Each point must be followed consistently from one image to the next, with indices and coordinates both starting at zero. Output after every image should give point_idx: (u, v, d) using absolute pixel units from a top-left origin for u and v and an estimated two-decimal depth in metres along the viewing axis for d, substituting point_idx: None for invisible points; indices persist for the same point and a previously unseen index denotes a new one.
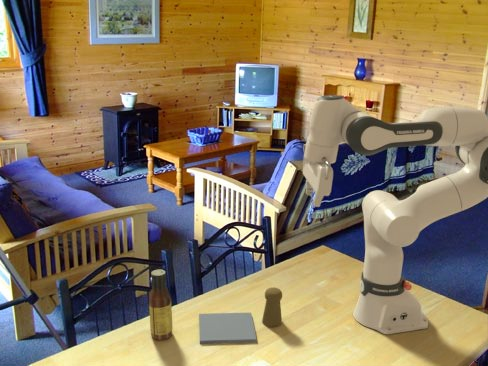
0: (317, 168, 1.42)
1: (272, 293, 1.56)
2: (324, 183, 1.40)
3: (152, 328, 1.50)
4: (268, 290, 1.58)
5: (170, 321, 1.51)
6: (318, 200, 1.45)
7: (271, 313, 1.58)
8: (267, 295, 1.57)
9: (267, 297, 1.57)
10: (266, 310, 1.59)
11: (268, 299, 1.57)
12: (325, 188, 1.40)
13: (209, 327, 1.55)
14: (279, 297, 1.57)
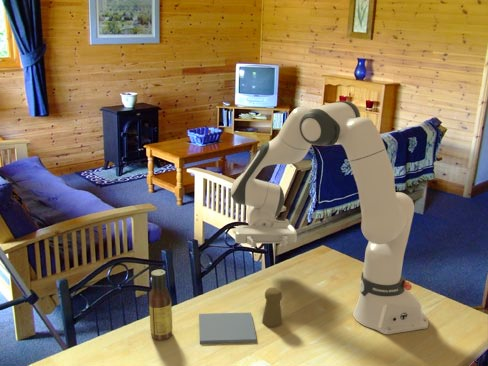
0: None
1: (272, 293, 1.56)
2: None
3: (152, 328, 1.50)
4: (268, 290, 1.58)
5: (170, 321, 1.51)
6: (250, 242, 1.69)
7: (271, 313, 1.58)
8: (267, 295, 1.57)
9: (267, 297, 1.57)
10: (266, 310, 1.59)
11: (268, 299, 1.57)
12: (235, 235, 1.73)
13: (209, 327, 1.55)
14: (279, 297, 1.57)
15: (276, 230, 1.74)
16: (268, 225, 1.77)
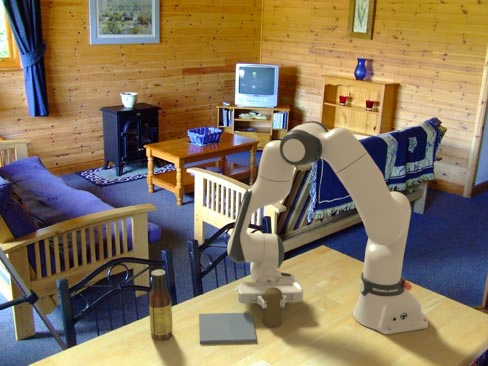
0: None
1: (272, 293, 1.56)
2: None
3: (152, 328, 1.50)
4: (268, 290, 1.58)
5: (170, 321, 1.51)
6: (261, 302, 1.60)
7: (271, 313, 1.58)
8: (267, 295, 1.57)
9: (267, 297, 1.57)
10: (266, 310, 1.59)
11: (268, 299, 1.57)
12: (238, 294, 1.64)
13: (209, 327, 1.55)
14: (279, 297, 1.57)
15: (281, 288, 1.65)
16: (273, 282, 1.68)
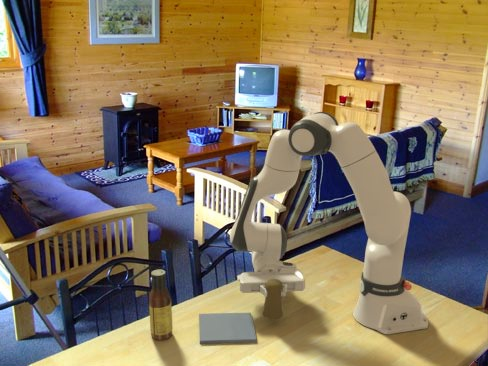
0: None
1: (273, 284, 1.55)
2: None
3: (152, 328, 1.50)
4: (269, 282, 1.56)
5: (170, 321, 1.51)
6: (263, 291, 1.59)
7: (272, 305, 1.56)
8: (268, 287, 1.55)
9: (268, 289, 1.55)
10: (267, 302, 1.57)
11: (269, 291, 1.55)
12: None
13: (209, 327, 1.55)
14: (280, 288, 1.55)
15: (283, 277, 1.64)
16: (274, 271, 1.67)
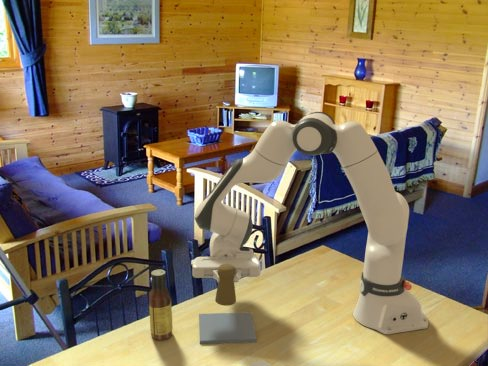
0: None
1: (225, 269, 1.49)
2: None
3: (152, 328, 1.50)
4: (221, 266, 1.50)
5: (170, 321, 1.51)
6: (216, 276, 1.53)
7: (224, 290, 1.50)
8: (220, 271, 1.49)
9: (220, 274, 1.49)
10: (219, 287, 1.51)
11: (221, 276, 1.49)
12: None
13: (209, 327, 1.55)
14: (232, 273, 1.49)
15: (238, 262, 1.58)
16: (230, 256, 1.61)
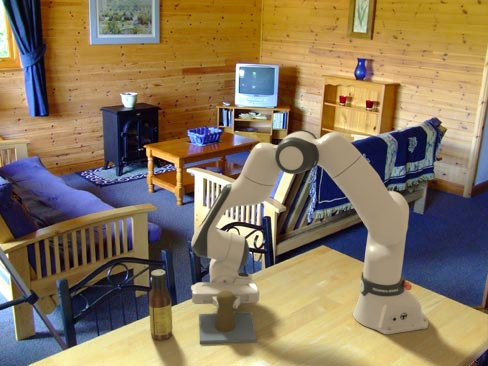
0: None
1: (224, 296, 1.52)
2: None
3: (152, 328, 1.50)
4: (220, 293, 1.53)
5: (170, 321, 1.51)
6: (215, 303, 1.55)
7: (224, 317, 1.53)
8: (219, 298, 1.52)
9: (219, 301, 1.52)
10: (218, 314, 1.54)
11: (220, 303, 1.52)
12: None
13: (209, 327, 1.55)
14: (231, 300, 1.52)
15: (237, 288, 1.60)
16: (229, 282, 1.63)
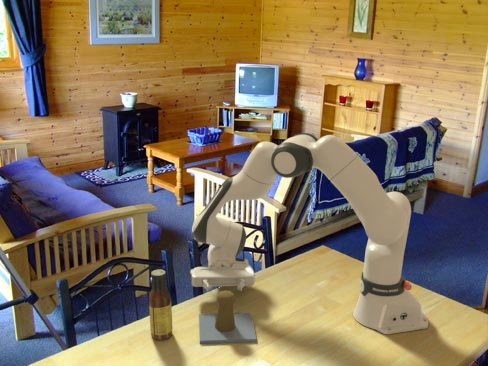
0: None
1: (224, 296, 1.52)
2: None
3: (152, 328, 1.50)
4: (220, 293, 1.53)
5: (170, 321, 1.51)
6: (205, 286, 1.65)
7: (224, 317, 1.53)
8: (219, 298, 1.52)
9: (219, 301, 1.52)
10: (218, 314, 1.54)
11: (220, 303, 1.52)
12: None
13: (209, 327, 1.55)
14: (231, 300, 1.52)
15: (234, 272, 1.70)
16: (226, 266, 1.73)
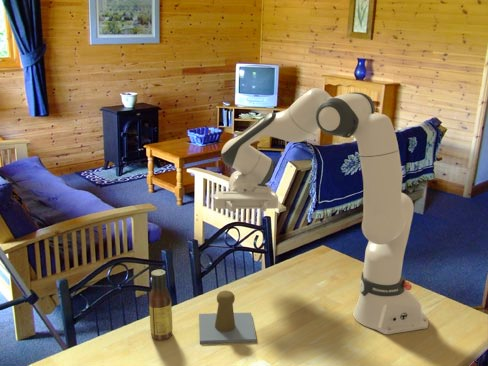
0: None
1: (224, 296, 1.52)
2: None
3: (152, 328, 1.50)
4: (220, 293, 1.53)
5: (170, 321, 1.51)
6: (229, 206, 1.64)
7: (224, 317, 1.53)
8: (219, 298, 1.52)
9: (219, 301, 1.52)
10: (218, 314, 1.54)
11: (220, 303, 1.52)
12: None
13: (209, 327, 1.55)
14: (231, 300, 1.52)
15: (257, 195, 1.69)
16: (249, 191, 1.72)
